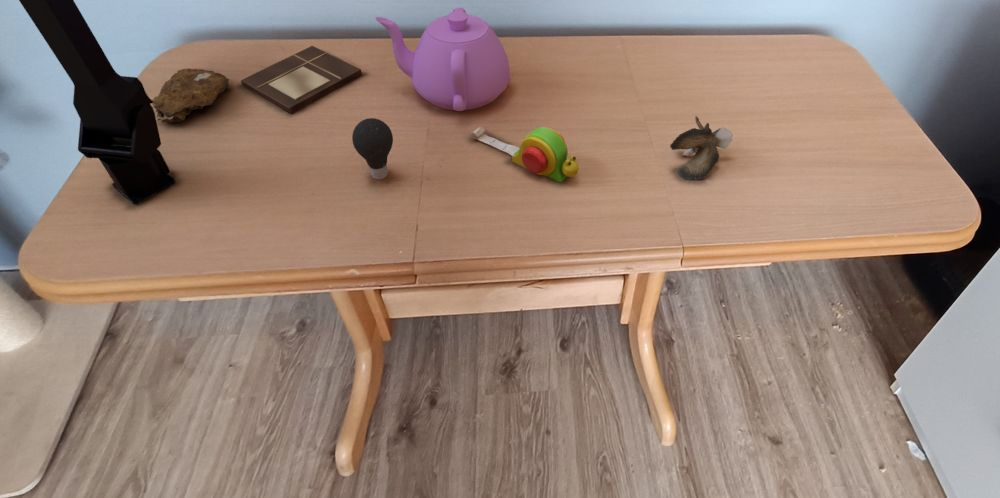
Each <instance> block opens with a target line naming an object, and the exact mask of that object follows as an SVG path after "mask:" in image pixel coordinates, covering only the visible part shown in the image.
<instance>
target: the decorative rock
mask: <svg viewBox="0 0 1000 498" xmlns="http://www.w3.org/2000/svg"><path fill="white" fill-rule="evenodd" d="M229 86H230V79H229V78H227V76H226V75H225V74H222V73H220V72H216V71H214V70H208V69H204V68H199V69H198V68H194V69H193V68H181V69H178V70H176V72H175V73H173V74H172V75H171V76H170V79H168V80H167V81H165V82H164V83H163V85H162V86H161V89H160V92H159V93H158V95H157V96H154V98H153V99H151V100H152V101H153V103H152V107H153V109H155V112H156V122H159V121H161V122H163V123H166V124H169V123H170V124H173V123H181V122H182V121H184V120H185V118H186V116H188V115H190V114H191V112H192V111H193V110H198V109H199V110H202V109H203V107H205V106H212V105H213V103H214V102H215V101H216V99H217V98H218V96H219V94H222V93H223V92H225V90H227V89H228V88H229Z"/></svg>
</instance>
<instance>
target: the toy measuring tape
mask: <svg viewBox="0 0 1000 498" xmlns="http://www.w3.org/2000/svg"><path fill="white" fill-rule="evenodd" d="M470 135H471V137H472V139H473V140H474V141H476V140H477V141H479V142H481V143H485V144H486V145H489V146H491V147H493V148H495V149H497V150H498V151H501V152H504V153H507V154H508V155H509V156H511V162H512V163H513V164H515V165H518V166H519V167H521V168H523V169H525V170H528V171H529V172H531V173H533V174H536V175H538V176H546V177H548V178H550V179H551V180H553V181H554V182H555V181H556V182H557V183H562V182H563V180H564V179H566V178H567V177H570V178H571V177H574V176H576V175H578V173H579V170H580V165H579V164H578V162H577V161H576V158H577V157H576V156H575V155H574V154H571V155H570V156H569V158H568V155H569V152H568V151H569V150H568V146H567V143H566V140H565V138H564V137H563V135H561V134H560V133H559V132H557V131H556V130H555V129H553V128H550V127H546V126H540V127H536V128H534V129H533V130H532V131H531V132H530V133H529V134H528V135H526V136H525V137H524V138H523V139H522V141H521V143H520V145H519V146H516V145H513V144H509V143H506V142H503V141H501V140H498V139H497V138H494V137H493V136H490V135H487V134H486V129H485V128H484V127H482V126H479V127H477V128H476V129H475V130H473V131H472V132H471V133H470Z"/></svg>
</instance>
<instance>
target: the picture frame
mask: <svg viewBox="0 0 1000 498" xmlns="http://www.w3.org/2000/svg"><path fill="white" fill-rule="evenodd" d="M361 76H363V71H362V69H361V68H359V67H358V66H355V65H353V64H351V63H349V62H347V61H345V60H343V59H340V58H338V57H336V56H335V55H332V54H331V53H328V52H326V51H324V50H323V49H320V48H318V47H316V46H314V45H311V46H308V47H306V48H305V49H302V50H300V51H298V52H296V53H294V54H291V55H290V56H288V57H285V58H284V59H281V60H280V61H277V62H275V63H273V64H271V65H269V66H267V67H265V68H263V69H261V70H259V71H257V72H255V73H252V74H251V75H248V76H246V77H244V78H242V79H241V80H240V82H241V85H242V87H243V88H245V89H247V90H249V91H251V92H252V93H254V94H256V95H258V96H259V97H261V98H263V99H264V100H266V101H268V102H269V103H272V104H273V105H275V106H277V107H278V108H280V109H282V110H284V111H285V112H287V113H288V114H290V115H293V114H294V113H296V112H297V111H299V110H301V109H303V108H305V107H307V106H308V105H311V104H312V103H314V102H316V101H317V100H319V99H322V98H323V97H325V96H327V95H329V94H330V93H332V92H334V91H336V90H338V89H339V88H342V87H343V86H345V85H347V84H348V83H350V82H353V81H354V80H356V79H358V78H360V77H361Z"/></svg>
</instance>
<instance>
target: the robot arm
mask: <svg viewBox="0 0 1000 498" xmlns="http://www.w3.org/2000/svg"><path fill="white" fill-rule="evenodd" d="M18 1H19V3H20V4H21V6H22V7H23V9H24V10H25V12H26V13H27V15H28V16H29V18H30V20H31V21H32V23H33V24H34V26H35V28H36V29H37V30H38V32H39V33H40V35H41V36H42V38H43V39H44V41H45V42H46V44H47V46H48V47H49V48H50V50H51V52H52V54H53V55H54V56H55V58H56V59H57V60H58V62H59V64H60V65H61V67H62V68H63V70H64V72H65V73H66V75H67V76H68V77H69V79H70V81H71V82H72V84H73V96H72V97H73V99H72V104H73V107H74V109H75V111H76V114H77V116H78V117H79V130H78V131H79V132H78V141H77V142H78V143H77V151H78V152H79V153H81V154H82V155H83V156H84V157H86V158H87V159H98V160H99V161H100V163H101V164H102V166H103V168H104V169H105V171H106V172H107V174H108V176H109V177H110V179H111V180H112V182H113V183H112V184H111V185H112V187H113V188H114V189H115V190H116V191H117V192H119V194H121V195H122V196H123V197H124V198H126V200H128V201H129V202H130V203H132V204H133V205H137V204H139V203H141V202H143V201H145V200H146V199H149V198H150V197H152V196H154V195H155V194H157V193H159V192H161V191H163V190H165V189H167V188H168V187H170V186H172V185H174V184H175V183H176V179H175V177H173V176H171V175H170V174H171V169H170V168H169V166H168V164H167V163H166V160H165V158H164V156H163V154H162V153H161V151H160V150H159V147H160V146H162V140H161V137H160V132H159V126H158V121H157V116H156V113H155V110H154V107H153V101H152V100H153V99H151V98H150V96H149V95H148V94H147V92H146V90H145V87H144V84H143V82H142V81H141V80H140V78H138V77H137V76H126V75H125V76H124V75H120V74H119V73H118V72H116V70H115V68H114V67H113V65H112V64H111V62H110V60H109V59H108V57H107V55H106V54H105V52H104V50H103V48H102V47H101V45H100V43H99V42H98V40H97V38H96V36H95V34H94V32H93V31H92V29H91V28H90V26H89V24H88V22H87V21H86V19H85V17H84V16H83V14H82V13H81V11H80V9H79V6H78V5H77V4H76V2H75V0H18Z"/></svg>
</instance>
